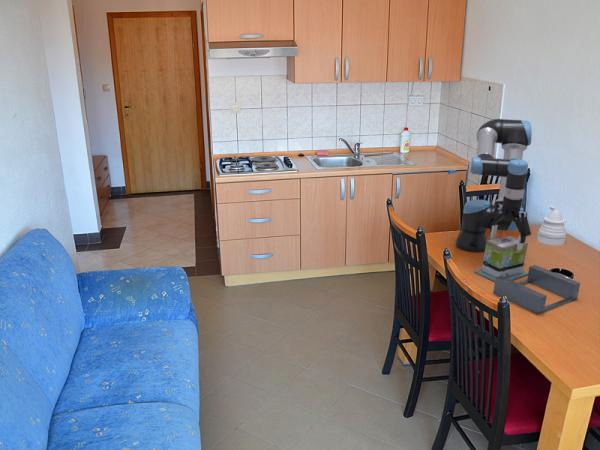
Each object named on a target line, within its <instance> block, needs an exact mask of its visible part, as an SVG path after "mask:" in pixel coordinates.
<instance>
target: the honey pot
mask: <svg viewBox="0 0 600 450" xmlns="http://www.w3.org/2000/svg"><path fill="white" fill-rule="evenodd" d="M549 210H550V213H548V215H546V216H544V217H543V222H542V223H541V225H540V227H539V228H538V232H537V238H536V239H537V241H538V242H539V243H542V244H545V245H549V246H563V245H565V241H566V235H567V232H566V226H565V223H566V220H565V219H564V217H563V215H562V213H561V212H560V210H558V209H556V206H554V205H549Z"/></svg>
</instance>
